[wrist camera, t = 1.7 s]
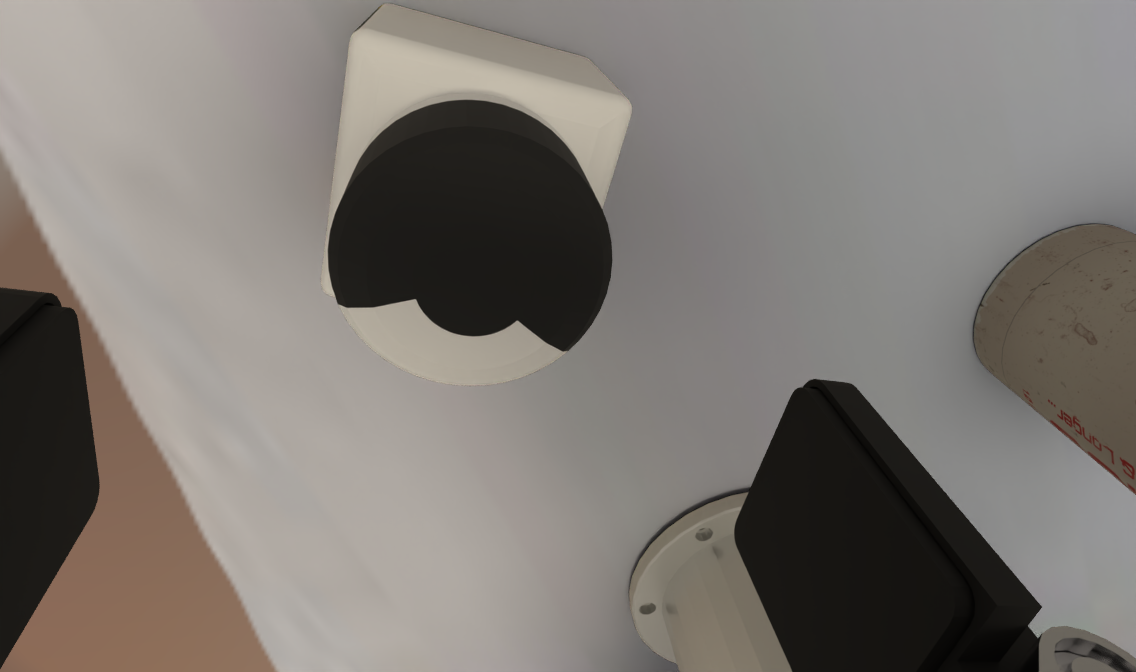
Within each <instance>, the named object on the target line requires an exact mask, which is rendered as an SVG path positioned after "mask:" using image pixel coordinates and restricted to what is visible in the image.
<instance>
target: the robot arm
mask: <svg viewBox="0 0 1136 672" xmlns="http://www.w3.org/2000/svg"><path fill="white" fill-rule="evenodd" d="M98 495H99V475H98V468H97V460H96V452H95V445H94V437H93V430H92V423H91V415H90V408H89V400H88V392H87V385H86V377H85V370H84V362H83V354H82V347H81V340H80V332H79V325H78V319H77V315H76V313H75V311H74V310H73V309H71V308H67V307H62V306H61V303H60V301H59V300H58V298H57V296H55V295H54V294H52V293H44V292H35V291H26V290H17V289H8V288H0V669H1V667H2V665H3V663H4V662H5V660H6V658H7V657H8V655H9V653H10V652H11V650H12V648H13V647H14V645H15V643H16V642H17V640H18V638H19V636H20V635H21V633H22V631H23V630H24V628H25V626H26V625H27V623H28V621H29V619H30V618H31V616H32V615H33V613H34V611H35V610H36V608H37V606H38V604H39V603H40V601H41V599H42V598H43V596H44V594H45V593H46V591H47V589H48V588H49V586H50V584H51V583H52V581H53V579H54V578H55V576H56V574H57V572H58V571H59V569H60V567H61V566H62V564H63V562H64V561H65V559H66V557H67V556H68V554H69V552H70V551H71V549H72V547H73V545H74V544H75V542H76V540H77V539H78V537H79V535H80V534H81V532H82V530H83V529H84V527H85V525H86V524H87V522H88V520H89V519H90V517H91V515H92V513H93V511H94V509H95V506H96V503H97V500H98ZM629 600H630V610H631V613H632V617H633V620H634V624H635V628H636V630H637V632H638V633H639V635H640V637H641V639H642V641H643V642H644V643H645V644H646V645H647V646H648V647H649V648H650V649H651V650H652V651H653V652H655V653H656V654H658V655H660V656H661V657H663V658H664V659H666V660H668V661H671V662H673V663H676V664H677V665H678V669H679V672H1136V658H1134V657H1133V656H1132V655H1130V654H1129V653H1128V652H1126V651H1124V650H1123V649H1121V648H1120V647H1118V646H1116V645H1115V644H1113V643H1111V642H1110V641H1108V640H1106V639H1104V638H1102V637H1099V636H1097V635H1095V634H1092V633H1090V632H1088V631H1085V630H1081V629H1077V628H1072V627H1068V626H1061V627H1051V628H1050V629H1048V630H1047V631H1045V632H1043V633H1042V634H1041V635H1040V637H1039V638H1037V637H1036V636H1035V634H1034V633H1033V632H1032V631H1031V629H1030V628H1029V627H1028V625H1029V623H1030V622H1031V621H1032V620H1033V618H1034V617H1035V616H1036V614H1037V613H1038V612H1039V611H1040V609H1041V608H1042V606H1041V605H1040V604H1039V603H1038V602H1037V601H1036V599H1035V598H1034V597H1033V596H1032V595H1031V593H1030V592H1029V591H1028V590H1027V589H1026V588H1025V586H1024V585H1023V584H1022V583H1021V582H1020V580H1019V579H1018V578H1017V577H1016V576H1015V575H1014V573H1013V572H1012V571H1011V570H1010V569H1009V567H1008V566H1007V565H1006V564H1005V563H1004V562H1003V560H1002V559H1001V558H1000V557H999V556H998V554H997V553H996V552H995V551H994V550H993V549H992V547H991V546H990V545H989V544H988V543H987V541H986V540H985V539H984V538H983V537H982V536H981V534H980V533H979V532H978V531H977V530H976V528H975V527H974V526H973V525H972V524H971V523H970V521H969V520H968V519H967V518H966V517H965V515H964V514H963V513H962V512H961V511H960V510H959V508H958V507H957V506H956V505H955V504H954V502H953V501H952V500H951V499H950V498H949V497H948V495H947V494H946V493H945V492H944V491H943V489H942V488H941V487H940V486H939V485H938V484H937V482H936V481H935V480H934V479H933V478H932V477H931V475H930V474H929V473H928V472H927V471H926V469H925V468H924V467H923V466H922V465H921V464H920V462H919V461H918V460H917V459H916V458H915V456H914V455H913V454H912V453H911V452H910V451H909V449H908V448H907V447H906V446H905V445H904V443H903V442H902V441H901V440H900V439H899V438H898V436H897V435H896V434H895V433H894V432H893V430H892V429H891V428H890V427H889V426H888V425H887V423H886V422H885V421H884V420H883V419H882V417H881V416H880V415H879V414H878V413H877V412H876V410H875V409H874V408H873V407H872V406H871V404H870V403H869V402H868V401H867V400H866V399H865V397H864V396H863V395H862V394H861V393H860V391H859V390H858V389H857V388H856V387H855V386H854V385H852V384H850V383H845V382H836V381H827V380H819V379H813V380H810V381H808V382H807V383H806V384H805V385H804V386H803V388H802V387H800V388H797V389H796V390H795V391H794V392H793V394H792V395H791V397H790V400H789V402H788V404H787V406H786V409H785V411H784V413H783V415H782V418H781V420H780V422H779V424H778V427H777V429H776V431H775V433H774V436H773V438H772V440H771V443H770V445H769V447H768V449H767V452H766V454H765V456H764V458H763V461H762V463H761V465H760V467H759V470H758V472H757V474H756V477H755V479H754V481H753V483H752V486H751V488H750V490H749V492H747V493H742V494H737V495H732V496H729V497H726V498H723V499H720V500H717V501H714V502H711V503H709V504H706V505H705V506H703V507H701V508H699V509H697V510H695V511H693V512H691V513H689V514H687V515H685V516H684V517H683V518H681V519H680V520H678V521H677V522H676V523H674V524H673V525H671V526H670V527H668V528H667V529H666V530H665V531H664V532H663V533H662V534H661V535H660V536H659V537H658V538H657V539H656V540H655V541H654V542H653V543H652V544H651V545H650V546H649V548H648V549H647V550H646V552H645V553H644V555H643V556H642V557H641V559H640V560H639V562H638V565H637V567H636V569H635V571H634V573H633V576H632V579H631V585H630V590H629Z"/></svg>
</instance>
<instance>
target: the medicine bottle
mask: <svg viewBox="0 0 1136 672" xmlns="http://www.w3.org/2000/svg"><path fill="white" fill-rule="evenodd" d="M631 115H632V105H631V103H630V101H629V100H628V99H627V98H626V97H625V96H624V94H623V93H622V92H621V91H620V90H619V89H618V88H617V87H616V86H615V85H614V84H613V83H612V82H611V81H610V80H609V79H608V78H607V77H606V76H605V75H604V74H603V73H602V72H601V71H600V70H599V69H598V68H597V67H596V66H595V65H594V64H593V63H592V62H591V60H589V59H588V58H586V57H583V56H580V55H576V54H572V53H569V52H565V51H561V50H558V49H554V48H551V47H547V46H543V45H540V44H536V43H532V42H529V41H525V40H522V39H518V38H514V37H511V36H507V35H503V34H500V33H496V32H492V31H489V30H485V29H482V28H478V27H474V26H471V25H467V24H463V23H460V22H456V21H453V20H449V19H445V18H442V17H438V16H434V15H431V14H427V13H423V12H420V11H416V10H413V9H409V8H405V7H402V6H398V5H394V4H391V3H386V4H383V5H381V6H380V7H379V8H378V9H377V10H376V11H375V12H374V13H373V14H372V15H371V16H370V17H369V18H368V19H367V20H366V21H365V22H364V23H363V24H362V25H361V26H359V27H358V28H357V29H356V30H355V31H354V32H353V34H352V36H351V39H350V41H349V50H348V58H347V66H346V74H345V83H344V91H343V99H342V108H341V116H340V124H339V132H338V141H337V149H336V157H335V166H334V174H333V182H332V190H331V199H330V207H329V215H328V223H327V232H326V240H325V248H324V257H323V265H322V273H321V286H322V290H323V291H324V292H325V293H326V294H327V295H330V296H332V297H336V300H337V303H338V305H339V307H340V309H341V311H342V312H343V314H344V316H345V318H346V320H347V321H348V323H349V324H350V325H351V327H352V328H353V330H354V331H355V332H356V334H357V335H358V336H359V337H360V338H361V339H362V340H363V341H364V342H365V343H366V344H367V345H368V346H369V347H370V348H371V349H372V350H373V351H375V352H376V353H377V354H378V355H380V356H381V357H382V358H383V359H385V360H386V361H388V362H390V363H391V364H393V365H395V366H396V367H398V368H400V369H402V370H404V371H406V372H408V373H411V374H413V375H415V376H418V377H421V378H424V379H427V380H431V381H434V382H439V383H445V384H450V385H462V386H480V385H492V384H498V383H504V382H508V381H511V380H515V379H518V378H522V377H524V376H527V375H529V374H531V373H534V372H536V371H538V370H540V369H542V368H544V367H546V366H547V365H549V364H551V363H552V362H554V361H556V360H557V359H558V358H560V357H561V356H562V355H563V354H565V353H566V352H567V351H569V350H570V349H571V348H572V347H573V346H574V345H575V344H576V343H577V342H578V341H579V340H580V339H581V338H582V336H583V335H584V334H585V332H586V331H587V330H588V329H589V327H590V326H591V325H592V323H593V321H594V319H595V318H596V316H597V314H598V313H599V311H600V309H601V306H602V304H603V301H604V299H605V296H606V294H607V290H608V286H609V282H610V278H611V268H612V245H611V238H610V233H609V228H608V224H607V221H606V219H605V216H604V213H603V206H604V203H605V200H606V197H607V193H608V190H609V187H610V183H611V180H612V177H613V174H614V170H615V167H616V164H617V161H618V157H619V154H620V151H621V147H622V144H623V141H624V138H625V134H626V131H627V128H628V124H629V121H630V118H631Z"/></svg>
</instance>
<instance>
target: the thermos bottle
mask: <svg viewBox="0 0 1136 672" xmlns="http://www.w3.org/2000/svg"><path fill="white" fill-rule="evenodd" d="M974 343H975V348H976V352H977V355H978V357H979V359H980V360H981V362H982V364H983V365H984V366H985V367H986V368H987V369H988V370H989V371H990V372H991V373H992V374H993V375H994V376H995V377H996V378H998V379H999V380H1000V381H1001V382H1002V383H1004V384H1005V385H1006V386H1007V387H1008V388H1009V389H1011V390H1012V391H1013V392H1014V393H1015V394H1017V395H1018V396H1019V397H1020V398H1021V399H1023V400H1024V401H1025V402H1026V403H1027V404H1028V405H1030V406H1031V407H1032V408H1033V409H1034V410H1036V411H1037V412H1038V413H1039V414H1040V415H1042V416H1043V417H1044V418H1045V419H1046V420H1047V421H1049V422H1050V423H1051V424H1052V425H1053V426H1055V427H1056V428H1057V429H1058V430H1059V431H1061V432H1062V433H1063V434H1064V435H1065V436H1066V437H1068V438H1069V439H1070V440H1071V441H1072V442H1074V443H1075V444H1076V445H1077V446H1078V447H1080V448H1081V449H1082V450H1083V451H1084V452H1086V453H1087V454H1088V455H1089V456H1090V457H1091V458H1093V459H1094V460H1095V461H1096V462H1097V463H1099V464H1100V465H1101V466H1102V467H1103V468H1105V469H1106V470H1107V471H1108V472H1109V473H1110V474H1112V475H1113V476H1114V477H1115V478H1116V479H1118V480H1119V481H1120V482H1121V483H1122V484H1124V485H1125V486H1126V487H1127V488H1128V489H1129V490H1131V491H1132V492H1133V493H1134V494H1135V495H1136V235H1135V234H1133V233H1131V232H1128V231H1126V230H1123V229H1120V228H1117V227H1115V226H1112V225H1102V224H1090V225H1081V226H1075V227H1072V228H1068V229H1065V230H1062V231H1058V232H1056V233H1054V234H1052V235H1050V236H1048V237H1046V238H1044V239H1041V240H1040V241H1038V242H1037V243H1035V244H1034V245H1032V246H1031V247H1029V248H1028V249H1026V250H1024V251H1023V252H1022V253H1021V254H1020V255H1019V256H1017V257H1016V258H1015V259H1014V260H1013V261H1012V262H1010V263H1009V264H1008V265H1007V267H1006V268H1005V269H1004V270H1003V271H1002V272H1001V273H1000V274H999V276H998V277H997V278H996V279H995V280H994V282H993V284H992V285H991V287H990V288H989V290H988V291H987V293H986V294H985V296H984V298H983V301H982V303H981V305H980V307H979V309H978V313H977V317H976V321H975V325H974Z"/></svg>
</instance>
